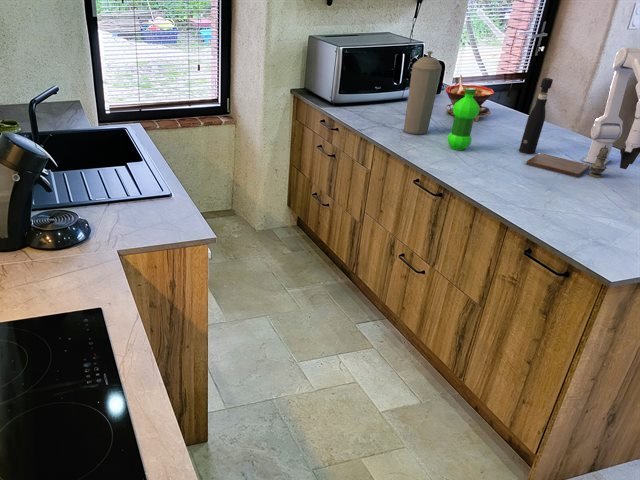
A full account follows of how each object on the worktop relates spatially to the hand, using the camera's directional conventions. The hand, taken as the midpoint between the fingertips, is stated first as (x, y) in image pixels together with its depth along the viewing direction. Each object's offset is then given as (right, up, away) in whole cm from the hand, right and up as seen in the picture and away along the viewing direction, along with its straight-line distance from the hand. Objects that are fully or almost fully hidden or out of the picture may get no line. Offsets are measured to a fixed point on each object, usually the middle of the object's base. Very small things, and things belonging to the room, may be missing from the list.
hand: (626, 166), depth 223 cm
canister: (-64, +28, +52) cm, 87 cm away
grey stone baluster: (-7, -2, +9) cm, 11 cm away
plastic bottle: (-52, +15, +33) cm, 63 cm away
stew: (-31, +45, +79) cm, 96 cm away
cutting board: (-17, +3, +16) cm, 24 cm away
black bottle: (-23, +13, +31) cm, 40 cm away
